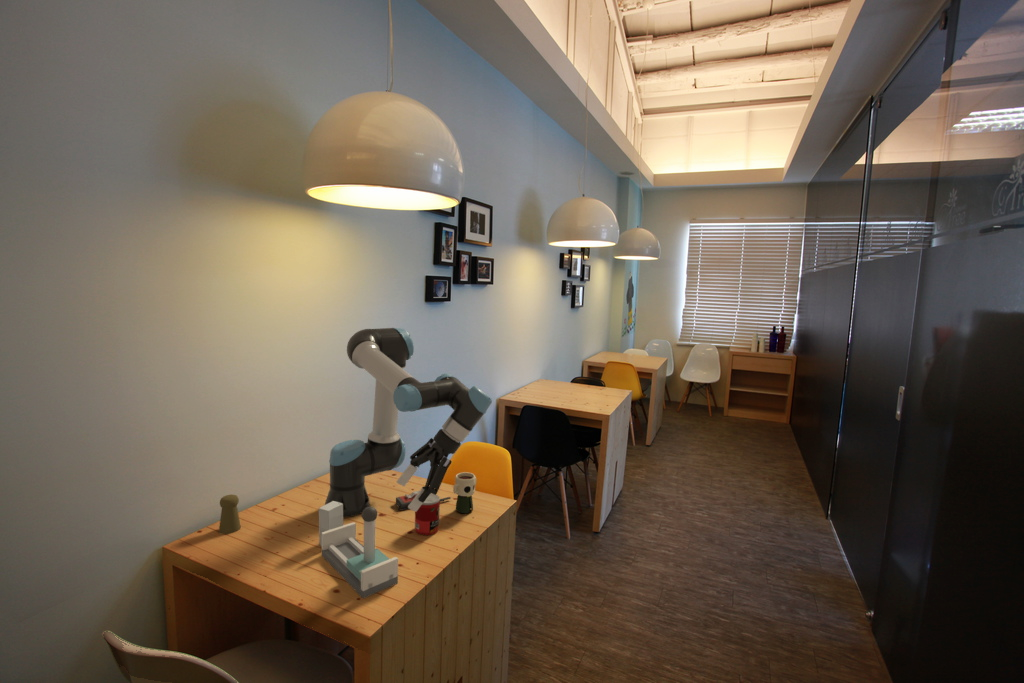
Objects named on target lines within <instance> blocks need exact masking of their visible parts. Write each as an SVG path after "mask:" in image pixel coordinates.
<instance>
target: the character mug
mask: <svg viewBox="0 0 1024 683" xmlns="http://www.w3.org/2000/svg"><path fill="white" fill-rule="evenodd" d="M454 480H455V481H454V482H455V483H454V484H453V489H452V490H453V494H456V495H457V497H456V504H455V510H456V511H457V512H459V513H460V514H461V513H462V514H468V513H469V514H470V511H471V512H473V510H474V502H473V495H474V494H475V492H476V485H477V477H476V475H475V474H474V473H472V472H467V471H463V472H459V473H457V474H456V475H455V477H454Z"/></svg>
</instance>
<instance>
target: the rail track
mask: <svg viewBox="0 0 1024 683" xmlns="http://www.w3.org/2000/svg"><path fill="white" fill-rule="evenodd" d="M356 527H357V523H356V522H354V521H353V522H350V523H346V524H343V526H340V527H337V528H334V529H331V530H328V531H325V532H322V546H321V556H322V557H323V558H324V559H325V560H326V561H327V562H328V564H329V565H330V566H331V567H332V568H333V569H334V570H335V571H336V572H337V573H338V575H340V577H342V578H343V579H344V581H346V582H347V584H349V585H350V587H351V588H352V589H353V590H354V591H355V592H356V593H357V594H358V596H360V598H361V599H366V598H367V597H370V596H372V595H374V594H377V593H378V592H381V591H384V590H385V589H388V588H390V587H392V586H395V585H397V584H398V583H399V581H398V580H399V574H398V573H399V558H398V557H397V556H394V557H391V558H389V560H386V561H384V562H381V563H379V564H376V565H374V566H371V567H369V568H366V569H364V570H361V581H360V580H359V579H358V578H357V577H356V576H355V575H354V574H353V573H352V572H351V571H350V570H349V569H348V568H347V560H348V559H350V558H353V557H356V556H358V555H361V554H364V544H362V543H361V542H360V541H358V540H357V538H356V536H357V530H356V529H357V528H356Z"/></svg>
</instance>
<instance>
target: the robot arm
mask: <svg viewBox="0 0 1024 683" xmlns="http://www.w3.org/2000/svg"><path fill="white" fill-rule="evenodd" d="M414 348H415V345H414V341H413V338H412V336H411V334H410V333H409V332H408V331H407V329H404V328H401V327H400V328H397V327H385V328H365V329H361V330H359V331H357V332H355V333H354V334H353V335H352V336H351V337H350V338H349V340H348V342H347V345H346V354H347V357H348V359H349V360H350V361H351V363H352V364H353V365H354V366H355V367H357V368H358V369H364V371H366V372H367V373H369V375H370V376H372V377H373V378H374V379H375V388H374V389H375V390H374V402H373V403H374V406H373V417H372V418H373V419H372V421H373V422H372V430H371V432H369V434H368V435H367V442H364V441H363V440H362V439H361V440H360V439H350V440H344V441H341V442H339V443H337V444H336V445H334V446H333V447H332V448H331V449H330V453H329V460H328V461H329V490H328V493H327V496H326V500H325V503H324V505H326V504H328V503H330V502H332V501H336V502H339V503H342V504H343V518H349V517H355V516H359V515H362V512H363V510H364V509H365V508H366V507H369V506H370V496H369V494H368V491H367V488H366V485H365V480H366V478H365V477H369V476H371V475H375V474H379V473H383V472H387V471H388V472H389V471H391V470H394V469H397V468H399V467H400V466H402V464H403V462H404V461H405V457H406V453H407V452H406V446H405V445H406V443H405V441H404V440H403V439H402V437H401V435H400V434H399V433H398V432H397V429H398V415H399V412H403V413H404V412H405V413H406V412H416V411H420V410H426V409H432V408H437V407H443V406H449V407H450V408H452V410H453V411H452V413H451V414H450V416H449V417H448V418H447V419H446V420H445V422H444V423H443V425H442V427H441V428H440V429H439V430H438V431H437V432H436V434H435V436H434V437H433V438H432V437H430V438H429V439H428V440H427V442H426V443H424V444H423V445H422V446H421V447H419V448H418V449H417V450H416V451H415V452H413V453H412V454H411V455H410V456H409V459H410V461H409V465H408V466H407V467H406V469H405V470H404V471H403V472H402V474H401V475H400V476H399V477H398V479H397V480H396V483H397V484H399V485H401V486H402V487H405V486H406V485H407V484H408V483H409V482H410V480H411V479H412V477H413V476H414V475H415V473H416V472H417V471H418V470H419V469H418V468H419V467H420V466H421V465H423V464H425V463H427V462H430V463H429V465H430V468H429V470H428V471H429V472H428V475H427V478H426V482H425V486H424V485H423V486H421V488H420V490H418V491H419V492H418V494H417V495H416V496H415V498H414V499H413V500H412V502H411V503H410V504H409V506H408V508H409V509H408V510H411V511H413V512H414V513H415V512H416V511H417V510H418V509H419V507H420V506H421V505H422V503H423V502H424V501H425V500H426V499H427V497H428V496H429V495H430V494H431V493H432V494H434V495H438V492H439V489H440V488H441V485H442V483H443V480H444V478H445V475H446V473H447V471H448V468H450V465H452V460H451V459H449V458H448V456H449V455H450V454H451V455H454V454H455V453H456V452H457V451H458V450H459V448H460V447H461V446H462V444H461V443H463V442H464V441H465V440H466V438H467V437H468V436H469V435H470V434H471V432H472V431H473V429H474V427H475V426H476V425H477V423H478V422H479V421H480V420H481V419H482V418H483V417H484V415H485V414H486V413H487V411H488V409H489V407H491V406H492V402H493V399H492V398H491V396H490V395H488V393H485V392H484V391H483V390H482V389H481V388H479V387H478V386H475V385H474V386H471V388H469V387H467V386H466V385H465V384H464V383H462V382H461V380H459V379H458V378H457V377H456V376H454V375H452V374H450V373H442V374H441V375H439V376H437V377H436V379H434V380H433V381H425V382H420V381H419V380H418V379H417V378H415V377H413V376H412V375H411V374H410V373H409V372H408V371H406V370H405V368H406V366H407V361H408V360H410V359H411V358H412V357H413V355H414V352H415V351H414V350H415V349H414Z"/></svg>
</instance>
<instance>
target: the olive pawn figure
mask: <svg viewBox="0 0 1024 683" xmlns="http://www.w3.org/2000/svg"><path fill="white" fill-rule="evenodd" d="M239 501H240V500H239V497H238V495H235V494H227V495H224V496H222V497H221V498H220V500H219V507H220V508H221V513H220V520H219V528H218V532H219V534H222V535H229V534H233V533H237V532H238V531H239V530H241V526H242V525H241V521H240V517H239V516H240V515H239V510H238V504H239Z"/></svg>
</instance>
